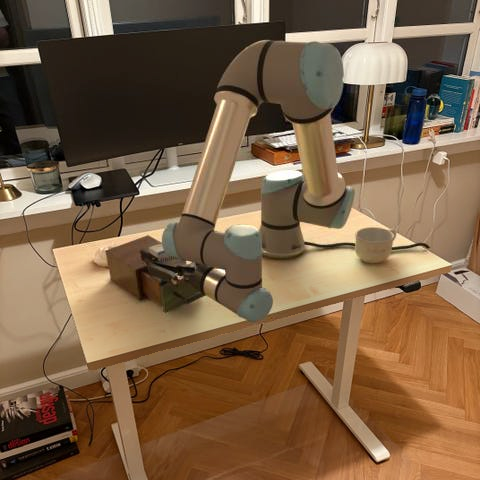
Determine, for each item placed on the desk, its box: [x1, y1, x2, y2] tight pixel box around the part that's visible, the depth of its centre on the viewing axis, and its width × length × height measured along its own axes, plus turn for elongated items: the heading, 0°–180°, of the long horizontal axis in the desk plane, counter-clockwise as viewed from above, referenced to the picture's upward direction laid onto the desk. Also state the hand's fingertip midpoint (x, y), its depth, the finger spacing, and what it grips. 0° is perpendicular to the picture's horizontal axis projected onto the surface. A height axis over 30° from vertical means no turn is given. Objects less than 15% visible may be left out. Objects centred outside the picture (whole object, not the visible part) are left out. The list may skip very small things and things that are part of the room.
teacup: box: [354, 227, 397, 264], centre depth 143 cm, size 14×11×8 cm
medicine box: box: [149, 244, 187, 284], centre depth 122 cm, size 8×4×9 cm, turn 128°
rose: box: [93, 245, 117, 268], centre depth 145 cm, size 10×4×10 cm
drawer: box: [139, 268, 207, 314], centre depth 125 cm, size 20×13×7 cm, turn 43°
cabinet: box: [105, 234, 162, 302], centre depth 133 cm, size 15×14×9 cm
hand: (156, 248), depth 124 cm, fingers closed on medicine box, 8 cm apart
